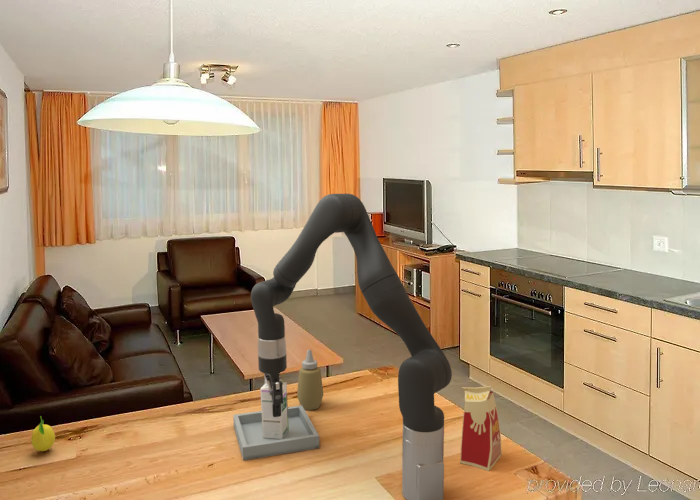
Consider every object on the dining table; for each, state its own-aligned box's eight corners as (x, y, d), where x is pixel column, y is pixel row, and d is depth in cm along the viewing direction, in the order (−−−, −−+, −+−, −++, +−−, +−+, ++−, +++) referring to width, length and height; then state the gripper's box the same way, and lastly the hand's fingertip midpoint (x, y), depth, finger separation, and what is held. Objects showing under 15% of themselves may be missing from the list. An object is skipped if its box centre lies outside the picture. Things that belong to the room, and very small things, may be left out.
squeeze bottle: (293, 410, 182) (291, 353, 179) (303, 399, 189) (301, 344, 186) (318, 413, 180) (317, 355, 176) (327, 402, 187) (326, 347, 184)
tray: (319, 448, 159) (319, 435, 158) (243, 460, 153) (242, 447, 152) (302, 416, 178) (301, 405, 177) (233, 426, 172) (233, 414, 171)
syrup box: (282, 440, 162) (281, 388, 159) (261, 438, 163) (259, 387, 161) (288, 430, 167) (287, 380, 165) (268, 428, 168) (267, 379, 166)
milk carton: (501, 455, 154) (504, 381, 151) (490, 471, 147) (492, 394, 143) (467, 446, 159) (469, 374, 156) (454, 462, 151) (456, 386, 148)
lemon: (46, 459, 155) (43, 422, 153) (26, 457, 155) (22, 421, 154) (63, 446, 161) (59, 411, 159) (43, 444, 162) (39, 410, 160)
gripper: (291, 360, 156) (293, 418, 158) (280, 343, 169) (282, 397, 172) (262, 363, 153) (264, 423, 156) (254, 346, 167) (256, 401, 170)
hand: (274, 409), depth 164 cm, fingers open, 8 cm apart
